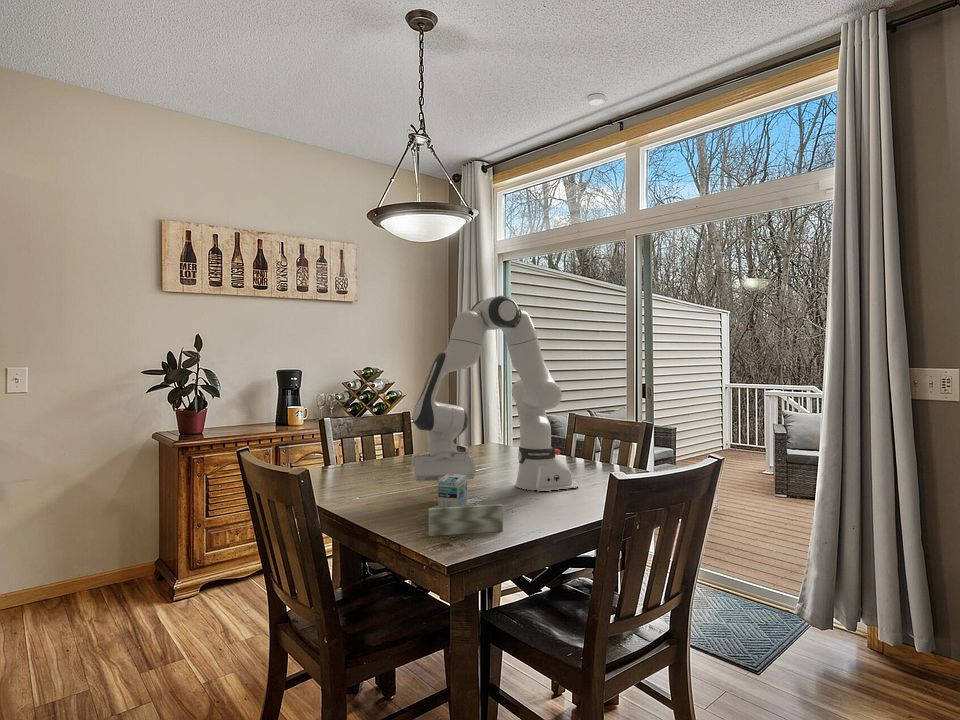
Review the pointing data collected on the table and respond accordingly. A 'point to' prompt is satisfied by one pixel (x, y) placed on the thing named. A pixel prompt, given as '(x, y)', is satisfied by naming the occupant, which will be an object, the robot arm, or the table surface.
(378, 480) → the table surface
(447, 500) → the light bulb box
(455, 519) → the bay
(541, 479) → the robot arm
